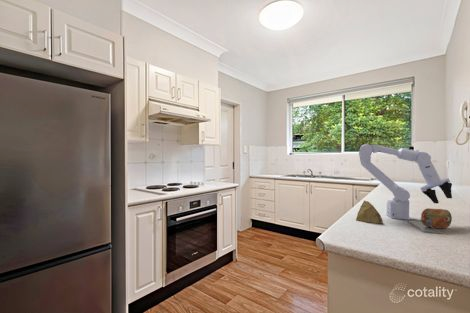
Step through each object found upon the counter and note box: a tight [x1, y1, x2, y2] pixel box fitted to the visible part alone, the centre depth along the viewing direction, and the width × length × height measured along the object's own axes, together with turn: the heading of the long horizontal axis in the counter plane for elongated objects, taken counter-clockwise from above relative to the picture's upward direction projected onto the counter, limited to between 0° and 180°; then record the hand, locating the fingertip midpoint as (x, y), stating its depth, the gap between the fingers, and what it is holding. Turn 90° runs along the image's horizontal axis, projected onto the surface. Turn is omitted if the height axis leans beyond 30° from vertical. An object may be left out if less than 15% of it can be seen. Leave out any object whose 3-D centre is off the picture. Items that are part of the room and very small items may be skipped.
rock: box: [355, 200, 384, 224], centre depth 111 cm, size 11×9×10 cm
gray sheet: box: [407, 220, 442, 235], centre depth 103 cm, size 6×15×1 cm, turn 163°
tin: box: [420, 207, 453, 229], centre depth 102 cm, size 15×3×8 cm, turn 103°
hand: (443, 200), depth 112 cm, fingers open, 7 cm apart
